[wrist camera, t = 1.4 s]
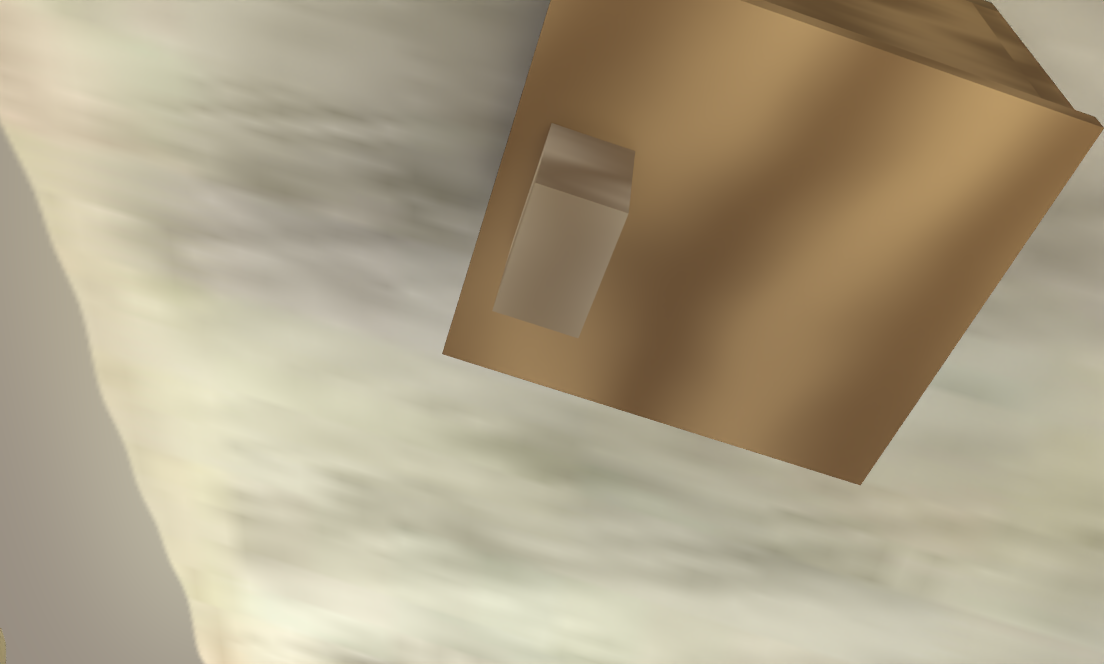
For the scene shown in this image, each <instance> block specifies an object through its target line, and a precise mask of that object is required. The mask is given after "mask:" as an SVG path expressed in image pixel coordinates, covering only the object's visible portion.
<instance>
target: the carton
mask: <svg viewBox="0 0 1104 664" xmlns="http://www.w3.org/2000/svg"><path fill="white" fill-rule="evenodd" d="M764 1H767V2H770V3H772V4H775V5H778V6H781V7H784V8H787V9H790V10H792V11H795V12H798V13H801V14H804V15H807V16H809V17H812V18H815V19H818V20H821V21H824V22H826V23H829V24H832V25H835V26H838V27H841V28H843V29H846V30H849V31H852V32H855V33H858V34H861V35H863V36H866V37H869V38H872V39H875V40H878V41H880V42H883V43H886V44H889V45H892V46H895V47H897V48H900V49H903V50H906V51H909V52H912V53H915V54H917V55H920V56H923V57H926V58H929V59H932V60H934V61H937V62H940V63H943V64H946V65H949V66H951V67H954V68H957V69H960V70H963V71H966V72H968V73H971V74H974V75H977V76H980V77H983V78H986V79H988V80H991V81H994V82H997V83H1000V84H1003V85H1005V86H1008V87H1011V88H1014V89H1017V90H1020V91H1022V92H1025V93H1028V94H1031V95H1034V96H1037V97H1039V98H1042V99H1045V100H1048V101H1051V102H1054V103H1057V104H1059V105H1062V106H1065V107H1068V108H1071V109H1074V108H1073V107H1072V106H1071V104H1070V103H1069V102H1068V100H1067V99H1066V98H1065V97H1064V95H1063V94H1062V93H1061V91H1060V90H1059V89H1058V88H1057V86H1056V85H1055V84H1054V82H1053V81H1052V80H1051V79H1050V77H1049V76H1048V75H1047V73H1046V72H1045V71H1044V69H1043V68H1042V67H1041V66H1040V64H1039V63H1038V62H1037V60H1036V59H1035V58H1034V57H1033V55H1032V54H1031V53H1030V51H1029V50H1028V49H1027V48H1026V46H1025V45H1024V44H1023V42H1022V41H1021V40H1020V39H1019V37H1018V36H1017V35H1016V33H1015V32H1014V31H1013V29H1012V28H1011V27H1010V26H1009V24H1008V23H1007V22H1006V20H1005V19H1004V18H1003V17H1002V15H1001V14H1000V13H999V11H998V10H997V9H996V8H995V6H994V5H993V4H992V3H990V2H987V1H984V0H764ZM1074 110H1075V109H1074Z"/></svg>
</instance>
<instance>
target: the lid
mask: <svg viewBox="0 0 1104 664" xmlns="http://www.w3.org/2000/svg"><path fill="white" fill-rule="evenodd" d="M1103 129H1104V127H1103V126H1102V125H1101V124H1100V122H1099V121H1098V120H1097V119H1096V117H1093V116H1091V115H1088V114H1085V113H1082V112H1079V111H1076V110H1074V109H1071V108H1068V107H1065V106H1062V105H1059V104H1057V103H1054V102H1051V101H1048V100H1045V99H1042V98H1039V97H1037V96H1034V95H1031V94H1028V93H1025V92H1022V91H1020V90H1017V89H1014V88H1011V87H1008V86H1005V85H1003V84H1000V83H997V82H994V81H991V80H988V79H986V78H983V77H980V76H977V75H974V74H971V73H968V72H966V71H963V70H960V69H957V68H954V67H951V66H949V65H946V64H943V63H940V62H937V61H934V60H932V59H929V58H926V57H923V56H920V55H917V54H915V53H912V52H909V51H906V50H903V49H900V48H897V47H895V46H892V45H889V44H886V43H883V42H880V41H878V40H875V39H872V38H869V37H866V36H863V35H861V34H858V33H855V32H852V31H849V30H846V29H843V28H841V27H838V26H835V25H832V24H829V23H826V22H824V21H821V20H818V19H815V18H812V17H809V16H807V15H804V14H801V13H798V12H795V11H792V10H790V9H787V8H784V7H781V6H778V5H775V4H772V3H770V2H767V1H764V0H551V1H550V4H549V7H548V11H547V14H546V17H545V20H544V24H543V27H542V30H541V33H540V37H539V40H538V43H537V46H536V50H535V53H534V56H533V59H532V63H531V66H530V69H529V72H528V76H527V79H526V82H525V86H524V89H523V92H522V95H521V99H520V102H519V105H518V108H517V112H516V115H515V118H514V121H513V125H512V128H511V131H510V134H509V138H508V141H507V144H506V147H505V151H504V154H503V157H502V160H501V164H500V167H499V170H498V173H497V177H496V180H495V183H494V187H493V190H492V193H491V196H490V200H489V203H488V206H487V209H486V213H485V216H484V219H483V222H482V226H481V229H480V232H479V235H478V239H477V242H476V245H475V248H474V252H473V255H472V258H471V261H470V265H469V268H468V271H467V274H466V278H465V281H464V284H463V287H462V291H461V294H460V297H459V301H458V304H457V307H456V310H455V314H454V317H453V320H452V323H451V327H450V330H449V333H448V336H447V340H446V343H445V346H444V349H443V353H442V354H444V355H447V356H450V357H453V358H457V359H460V360H463V361H466V362H469V363H473V364H476V365H479V366H482V367H485V368H488V369H492V370H495V371H498V372H501V373H504V374H508V375H511V376H514V377H517V378H520V379H524V380H527V381H530V382H533V383H536V384H539V385H543V386H546V387H549V388H552V389H555V390H559V391H562V392H565V393H568V394H571V395H574V396H578V397H581V398H584V399H587V400H590V401H594V402H597V403H600V404H603V405H606V406H610V407H613V408H616V409H619V410H622V411H625V412H629V413H632V414H635V415H638V416H641V417H645V418H648V419H651V420H654V421H657V422H660V423H664V424H667V425H670V426H673V427H676V428H680V429H683V430H686V431H689V432H692V433H696V434H699V435H702V436H705V437H708V438H711V439H715V440H718V441H721V442H724V443H727V444H731V445H734V446H737V447H740V448H743V449H746V450H750V451H753V452H756V453H759V454H762V455H766V456H769V457H772V458H775V459H778V460H782V461H785V462H788V463H791V464H794V465H797V466H801V467H804V468H807V469H810V470H813V471H817V472H820V473H823V474H826V475H829V476H832V477H836V478H839V479H842V480H845V481H848V482H852V483H855V484H858V485H861V484H862V482H863V481H864V479H865V478H866V476H867V475H868V473H869V472H870V470H871V469H872V468H873V466H874V465H875V463H876V462H877V460H878V459H879V457H880V456H881V454H882V453H883V451H884V450H885V448H886V447H887V446H888V444H889V443H890V441H891V440H892V438H893V437H894V435H895V434H896V432H897V431H898V429H899V428H900V427H901V425H902V424H903V422H904V421H905V419H906V418H907V416H908V415H909V413H910V412H911V410H912V409H913V407H914V406H915V405H916V403H917V402H918V400H919V399H920V397H921V396H922V394H923V393H924V391H925V390H926V388H927V387H928V385H929V384H930V383H931V381H932V380H933V378H934V377H935V375H936V374H937V372H938V371H939V369H940V368H941V366H942V365H943V363H944V362H945V361H946V359H947V358H948V356H949V355H950V353H951V352H952V350H953V349H954V347H955V346H956V344H957V343H958V341H959V340H960V339H961V337H962V336H963V334H964V333H965V331H966V330H967V328H968V327H969V325H970V324H971V322H972V321H973V319H974V318H975V317H976V315H977V314H978V312H979V311H980V309H981V308H982V306H983V305H984V303H985V302H986V300H987V299H988V297H989V296H990V295H991V293H992V292H993V290H994V289H995V287H996V286H997V284H998V283H999V281H1000V280H1001V278H1002V277H1003V275H1004V274H1005V273H1006V271H1007V270H1008V268H1009V267H1010V265H1011V264H1012V262H1013V261H1014V259H1015V258H1016V256H1017V255H1018V253H1019V252H1020V251H1021V249H1022V248H1023V246H1024V245H1025V243H1026V242H1027V240H1028V239H1029V237H1030V236H1031V234H1032V233H1033V231H1034V230H1035V229H1036V227H1037V226H1038V224H1039V223H1040V221H1041V220H1042V218H1043V217H1044V215H1045V214H1046V212H1047V211H1048V209H1049V208H1050V207H1051V205H1052V204H1053V202H1054V201H1055V199H1056V198H1057V196H1058V195H1059V193H1060V192H1061V190H1062V189H1063V187H1064V186H1065V185H1066V183H1067V182H1068V180H1069V179H1070V177H1071V176H1072V174H1073V173H1074V171H1075V170H1076V168H1077V167H1078V165H1079V164H1080V163H1081V161H1082V160H1083V158H1084V157H1085V155H1086V154H1087V152H1088V151H1089V149H1090V148H1091V146H1092V145H1093V143H1094V142H1095V141H1096V139H1097V138H1098V136H1099V135H1100V133H1101V132H1102V130H1103Z"/></svg>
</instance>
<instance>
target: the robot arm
mask: <svg viewBox="0 0 1104 664" xmlns="http://www.w3.org/2000/svg"><path fill="white" fill-rule="evenodd" d="M0 664H6V642H5V639H4V636H3V632H2V629H1V628H0Z"/></svg>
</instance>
